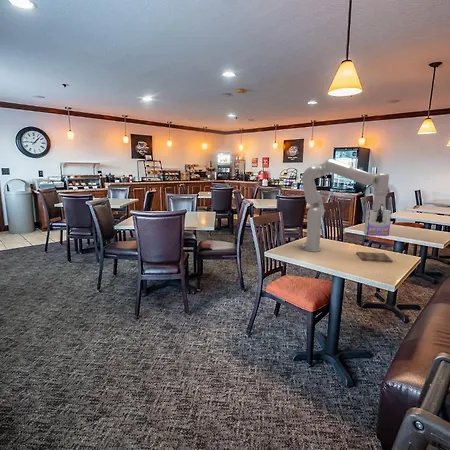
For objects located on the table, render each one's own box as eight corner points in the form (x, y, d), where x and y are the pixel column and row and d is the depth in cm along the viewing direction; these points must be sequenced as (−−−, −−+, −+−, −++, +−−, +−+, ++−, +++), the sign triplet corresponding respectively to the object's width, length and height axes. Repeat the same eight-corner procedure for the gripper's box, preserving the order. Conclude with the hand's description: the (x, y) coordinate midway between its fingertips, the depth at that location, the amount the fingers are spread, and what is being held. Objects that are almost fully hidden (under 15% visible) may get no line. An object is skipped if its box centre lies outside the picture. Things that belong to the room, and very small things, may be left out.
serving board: (362, 260, 192) (362, 258, 192) (356, 253, 208) (356, 251, 208) (392, 262, 189) (392, 260, 189) (384, 255, 205) (384, 253, 204)
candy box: (385, 234, 198) (387, 209, 195) (389, 236, 192) (391, 211, 189) (363, 233, 199) (365, 209, 196) (366, 235, 193) (369, 210, 190)
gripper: (370, 191, 199) (367, 218, 203) (378, 194, 183) (375, 223, 186) (382, 192, 198) (379, 218, 202) (391, 194, 181) (388, 223, 185)
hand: (377, 220), depth 194 cm, fingers closed on candy box, 6 cm apart
